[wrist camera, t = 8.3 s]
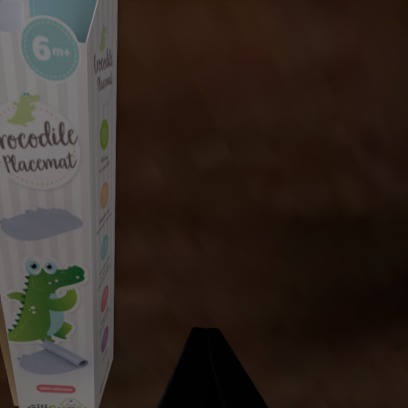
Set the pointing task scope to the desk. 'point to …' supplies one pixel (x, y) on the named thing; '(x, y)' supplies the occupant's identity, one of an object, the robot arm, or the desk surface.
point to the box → (58, 196)
